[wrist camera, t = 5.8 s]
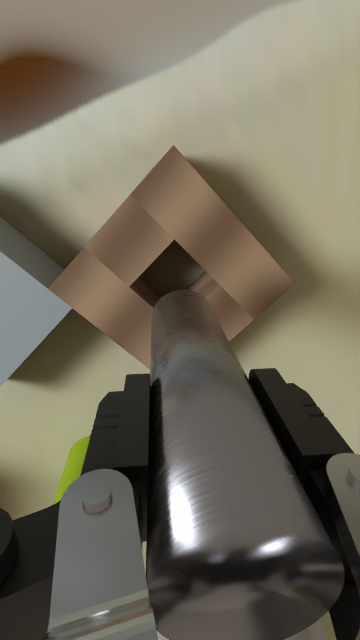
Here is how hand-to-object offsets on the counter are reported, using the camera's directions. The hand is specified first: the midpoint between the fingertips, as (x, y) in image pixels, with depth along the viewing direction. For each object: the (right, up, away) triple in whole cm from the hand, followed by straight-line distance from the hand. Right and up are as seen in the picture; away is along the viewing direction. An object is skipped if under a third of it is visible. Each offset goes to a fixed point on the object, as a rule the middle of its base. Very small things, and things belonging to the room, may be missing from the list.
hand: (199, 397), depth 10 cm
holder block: (-1, +7, +16) cm, 17 cm away
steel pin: (0, +2, +6) cm, 7 cm away
